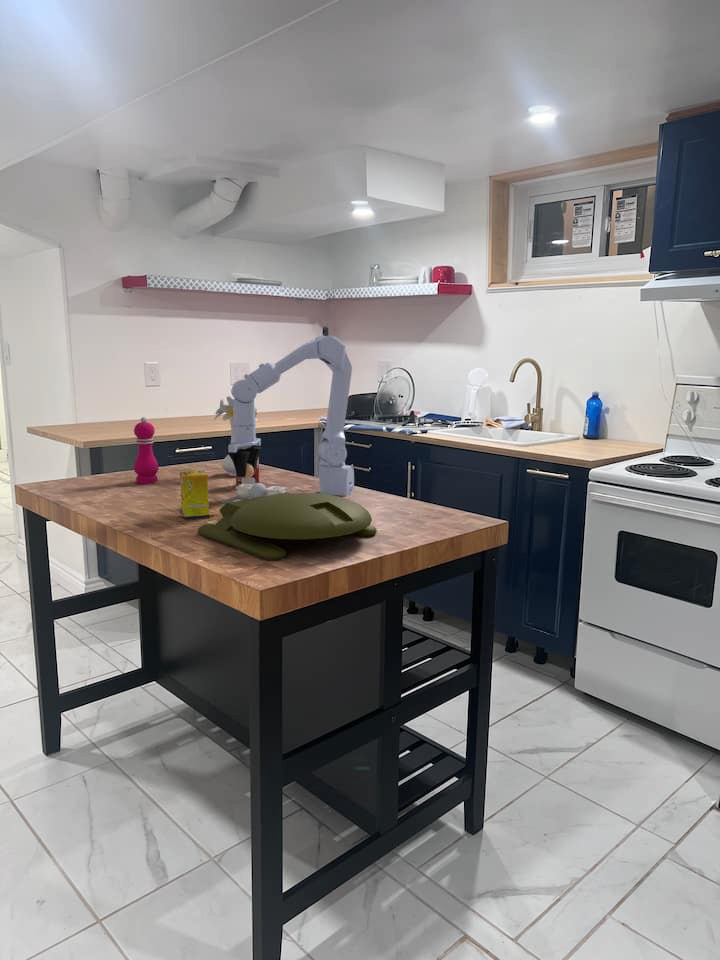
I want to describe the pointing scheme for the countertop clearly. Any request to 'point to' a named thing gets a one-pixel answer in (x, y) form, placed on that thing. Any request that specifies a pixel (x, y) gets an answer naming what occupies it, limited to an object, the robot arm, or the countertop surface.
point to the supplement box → (194, 494)
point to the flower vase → (228, 409)
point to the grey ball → (258, 490)
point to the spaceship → (287, 521)
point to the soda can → (252, 480)
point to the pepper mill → (145, 453)
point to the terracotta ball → (248, 472)
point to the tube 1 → (244, 491)
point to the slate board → (234, 499)
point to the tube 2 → (275, 490)
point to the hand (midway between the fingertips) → (245, 475)
